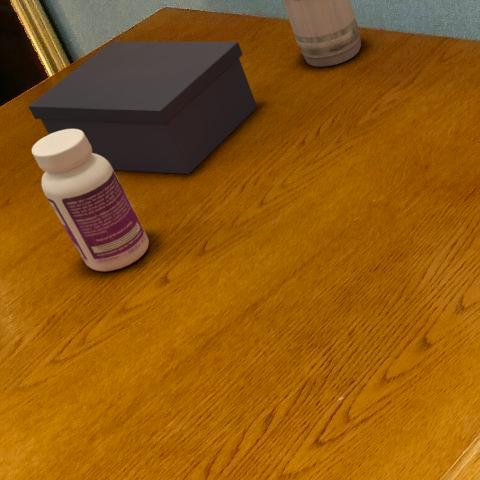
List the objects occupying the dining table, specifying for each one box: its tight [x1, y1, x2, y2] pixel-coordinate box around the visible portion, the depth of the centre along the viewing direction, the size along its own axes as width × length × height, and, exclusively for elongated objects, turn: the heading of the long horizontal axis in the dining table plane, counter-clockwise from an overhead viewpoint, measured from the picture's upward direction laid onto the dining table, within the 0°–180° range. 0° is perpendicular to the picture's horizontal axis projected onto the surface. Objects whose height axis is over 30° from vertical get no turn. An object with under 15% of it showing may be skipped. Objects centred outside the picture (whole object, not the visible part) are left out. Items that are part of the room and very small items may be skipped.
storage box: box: [27, 40, 258, 175], centre depth 92 cm, size 15×13×6 cm
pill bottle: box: [31, 129, 150, 272], centre depth 77 cm, size 5×5×10 cm
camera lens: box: [282, 0, 362, 68], centre depth 97 cm, size 6×6×8 cm
